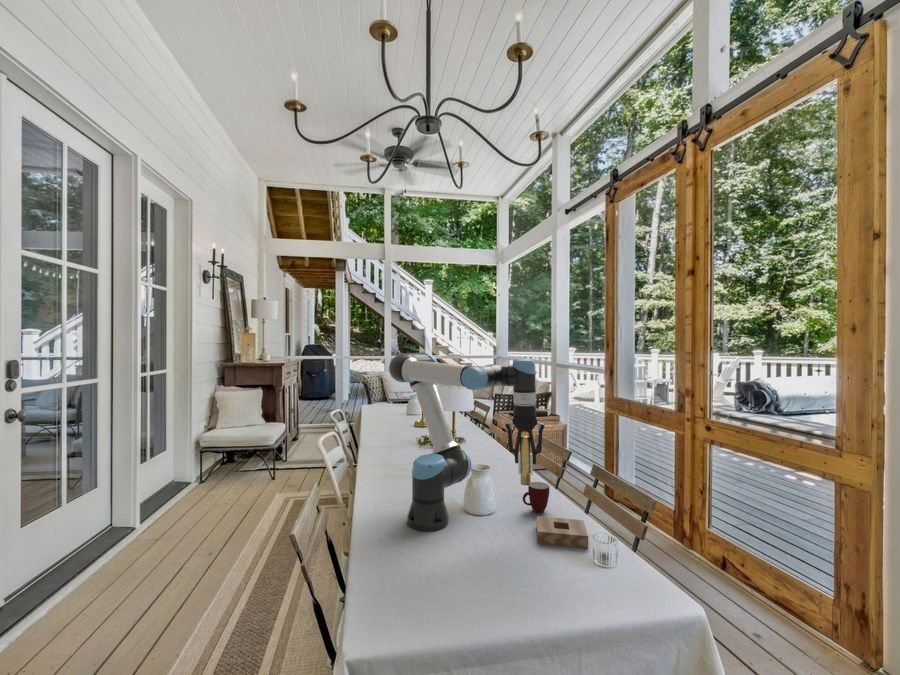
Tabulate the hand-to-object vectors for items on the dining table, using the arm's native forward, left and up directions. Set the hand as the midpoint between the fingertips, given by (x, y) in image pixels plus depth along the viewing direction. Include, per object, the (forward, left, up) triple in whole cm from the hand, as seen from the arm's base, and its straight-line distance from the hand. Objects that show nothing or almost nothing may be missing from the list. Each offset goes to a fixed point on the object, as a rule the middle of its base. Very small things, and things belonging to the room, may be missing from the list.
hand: (525, 472), depth 143 cm
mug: (+4, +21, -22) cm, 31 cm away
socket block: (+12, +1, -21) cm, 25 cm away
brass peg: (0, 0, -4) cm, 4 cm away
